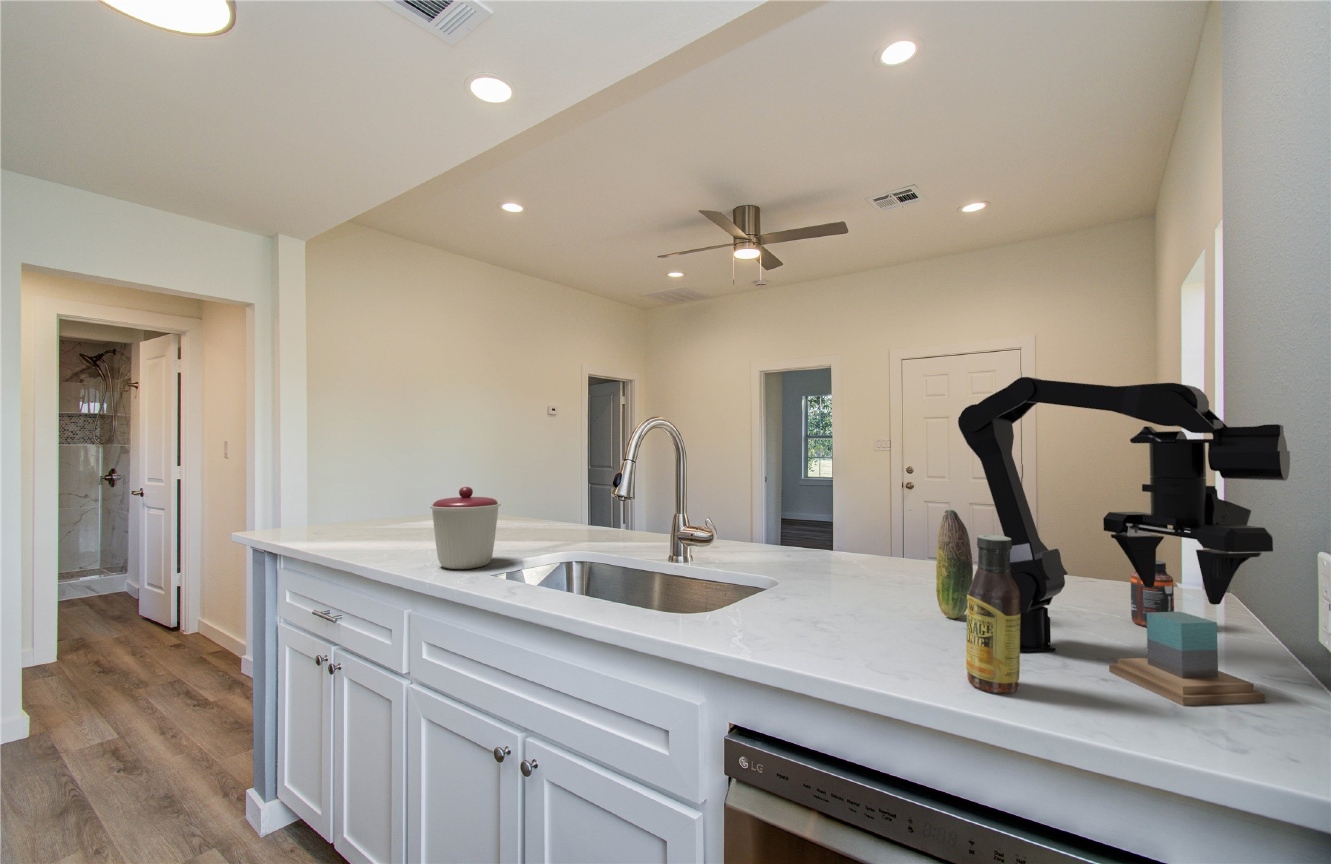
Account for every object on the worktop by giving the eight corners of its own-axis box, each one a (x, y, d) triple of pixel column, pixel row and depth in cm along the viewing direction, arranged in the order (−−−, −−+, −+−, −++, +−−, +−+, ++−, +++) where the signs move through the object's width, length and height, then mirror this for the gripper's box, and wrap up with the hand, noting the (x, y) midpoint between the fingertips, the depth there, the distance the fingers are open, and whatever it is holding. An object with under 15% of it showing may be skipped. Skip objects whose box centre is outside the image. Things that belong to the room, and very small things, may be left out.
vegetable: (932, 611, 115) (931, 507, 115) (967, 613, 113) (966, 507, 114) (940, 620, 109) (938, 510, 109) (977, 622, 107) (976, 511, 108)
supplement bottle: (1182, 631, 102) (1181, 564, 103) (1143, 629, 103) (1141, 563, 104) (1161, 621, 108) (1160, 558, 108) (1124, 619, 109) (1123, 557, 110)
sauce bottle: (956, 678, 82) (954, 532, 82) (1000, 676, 83) (997, 532, 83) (986, 698, 75) (984, 540, 76) (1033, 696, 76) (1030, 539, 76)
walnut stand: (1183, 705, 73) (1183, 688, 73) (1109, 671, 84) (1108, 657, 84) (1265, 701, 74) (1264, 685, 74) (1181, 668, 85) (1180, 654, 85)
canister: (450, 576, 147) (450, 490, 147) (416, 566, 159) (417, 487, 160) (513, 565, 160) (514, 486, 161) (478, 557, 172) (479, 483, 173)
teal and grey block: (1218, 677, 77) (1216, 622, 77) (1182, 678, 77) (1181, 623, 77) (1181, 663, 82) (1180, 611, 82) (1147, 664, 82) (1146, 612, 82)
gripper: (1313, 481, 71) (1317, 612, 71) (1168, 473, 90) (1171, 578, 89) (1227, 481, 70) (1231, 615, 70) (1099, 474, 89) (1101, 580, 89)
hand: (1180, 595), depth 80 cm, fingers open, 9 cm apart
